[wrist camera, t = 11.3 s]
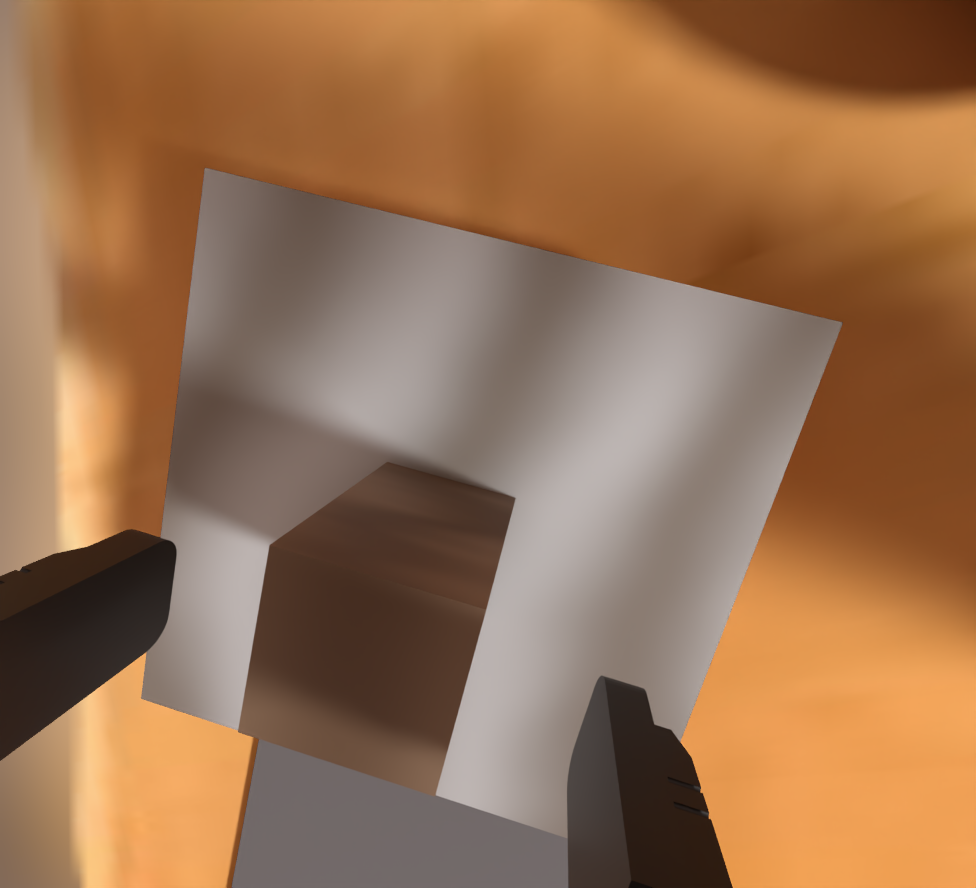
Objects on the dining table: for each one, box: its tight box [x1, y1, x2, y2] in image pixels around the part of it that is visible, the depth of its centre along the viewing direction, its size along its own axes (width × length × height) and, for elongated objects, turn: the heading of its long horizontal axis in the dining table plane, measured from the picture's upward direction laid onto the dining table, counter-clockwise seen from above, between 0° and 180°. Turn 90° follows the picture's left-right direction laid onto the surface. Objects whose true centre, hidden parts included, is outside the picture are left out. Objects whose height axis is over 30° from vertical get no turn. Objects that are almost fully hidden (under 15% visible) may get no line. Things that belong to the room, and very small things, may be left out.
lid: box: [141, 168, 843, 838], centre depth 12 cm, size 16×16×7 cm
